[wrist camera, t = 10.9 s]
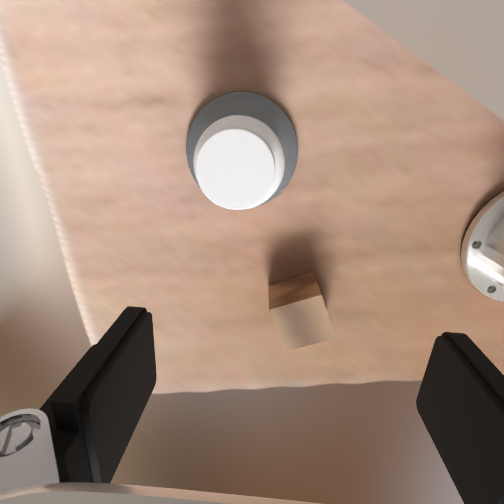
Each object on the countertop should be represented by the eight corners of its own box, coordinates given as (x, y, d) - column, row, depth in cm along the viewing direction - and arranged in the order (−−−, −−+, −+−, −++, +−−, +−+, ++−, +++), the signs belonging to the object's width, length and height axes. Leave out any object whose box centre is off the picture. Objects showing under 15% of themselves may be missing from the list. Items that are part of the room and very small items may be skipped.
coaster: (300, 92, 27) (301, 92, 27) (293, 207, 31) (294, 209, 31) (184, 91, 28) (182, 90, 27) (191, 205, 31) (189, 207, 31)
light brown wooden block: (313, 271, 34) (321, 294, 29) (325, 310, 35) (335, 338, 31) (268, 284, 35) (269, 309, 30) (282, 322, 36) (285, 351, 32)
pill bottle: (198, 164, 29) (163, 186, 19) (232, 101, 27) (214, 88, 17) (255, 200, 30) (252, 240, 20) (293, 143, 28) (309, 154, 18)
